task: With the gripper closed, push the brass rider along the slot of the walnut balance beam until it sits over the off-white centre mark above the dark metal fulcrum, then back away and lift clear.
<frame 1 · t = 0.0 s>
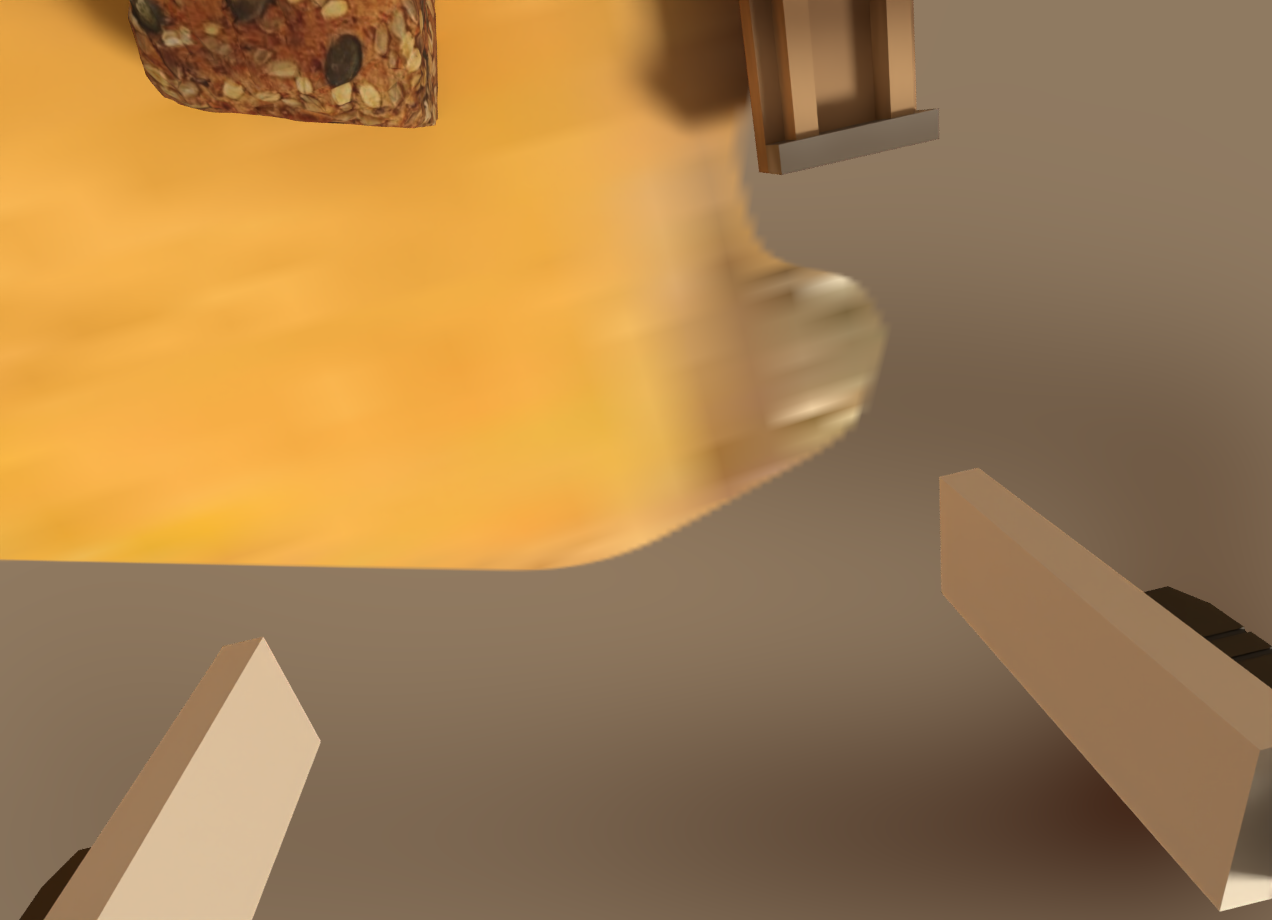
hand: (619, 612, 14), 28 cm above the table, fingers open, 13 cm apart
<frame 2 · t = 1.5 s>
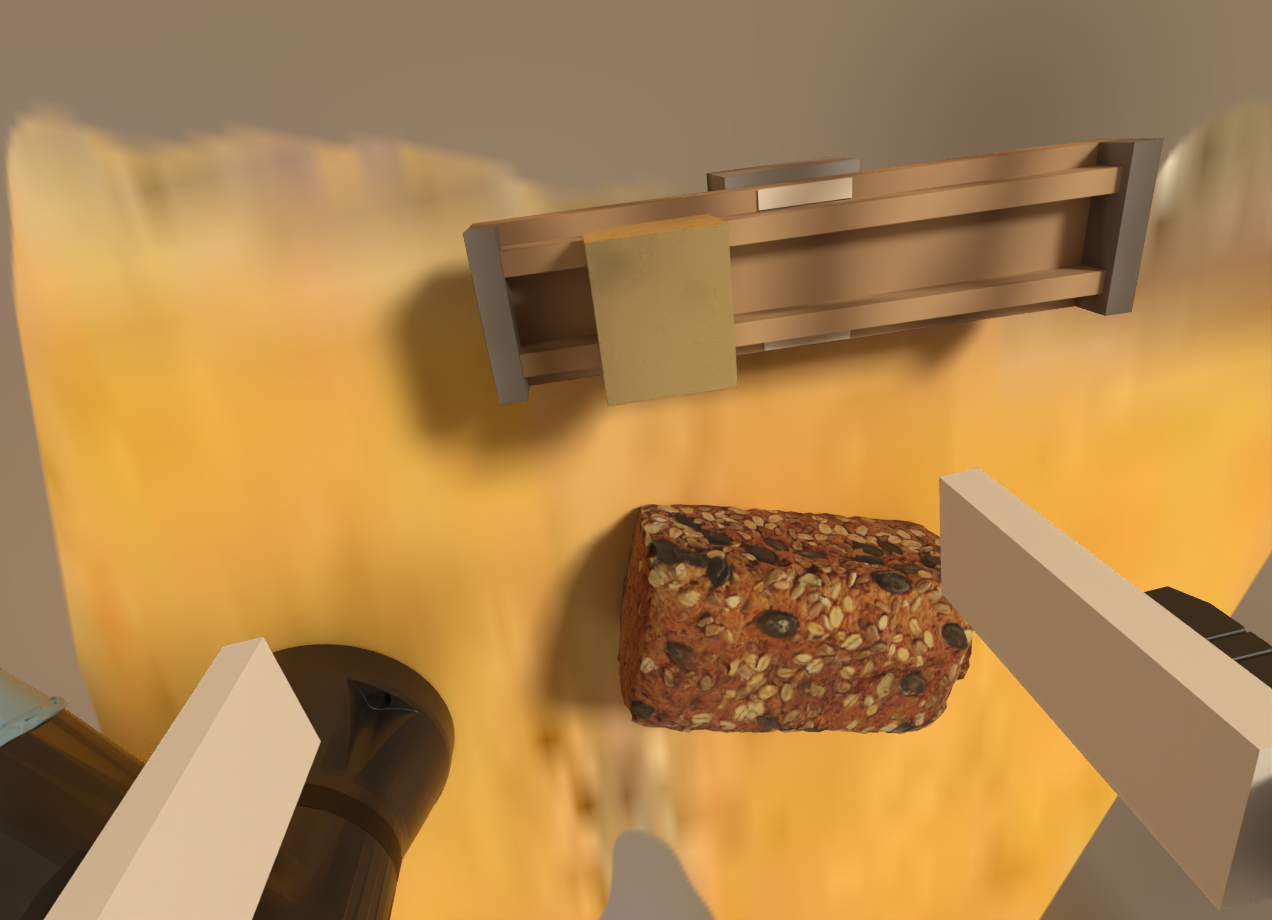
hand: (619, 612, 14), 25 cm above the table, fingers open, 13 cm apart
bread: (766, 571, 44), on the table
beam: (770, 249, 36), on the table
rider: (656, 303, 28), point 8 cm above the table, slide at -7.0 cm
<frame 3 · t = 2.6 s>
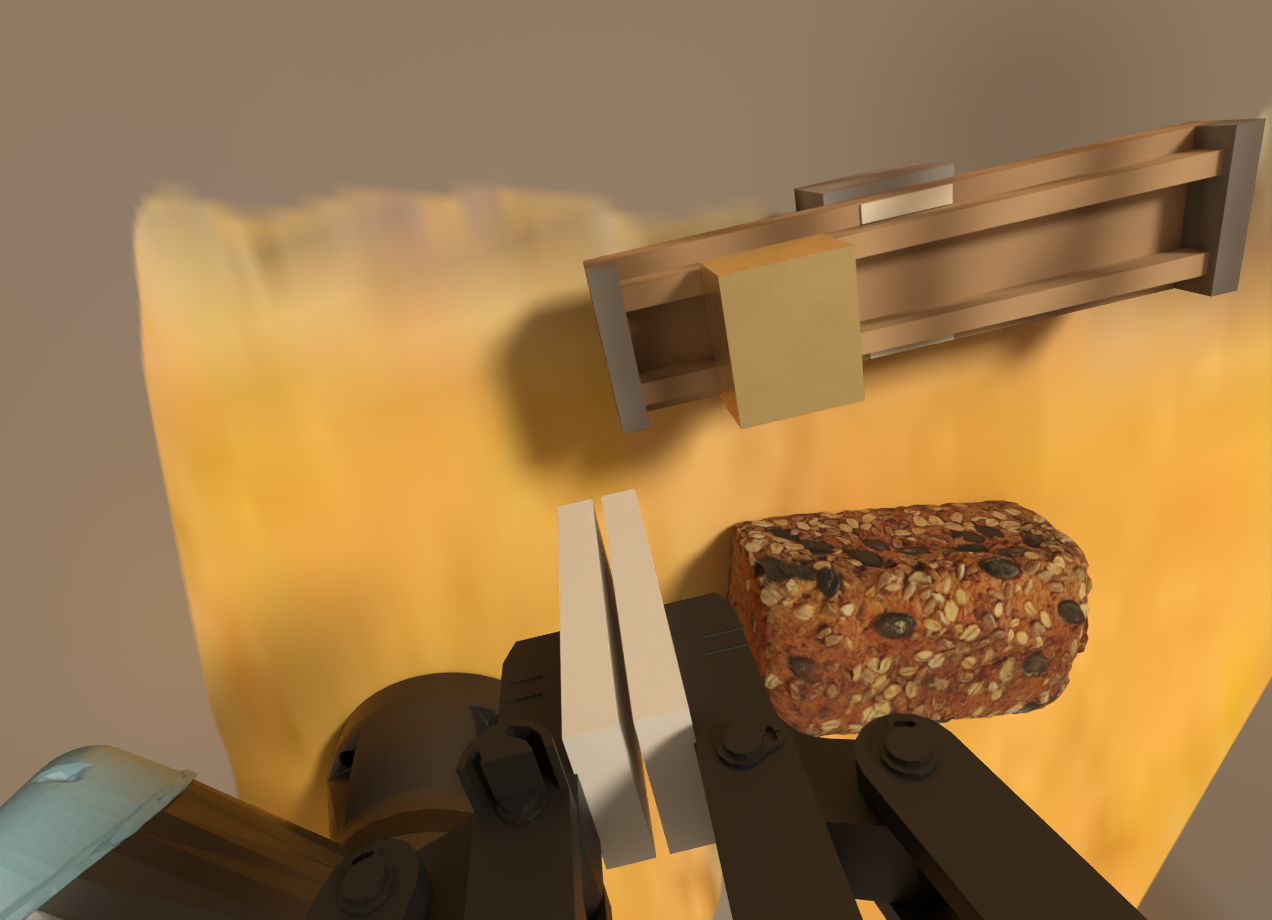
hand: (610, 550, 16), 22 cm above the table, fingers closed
bread: (863, 568, 45), on the table
beam: (858, 256, 36), on the table
rider: (774, 324, 28), point 8 cm above the table, slide at -7.0 cm
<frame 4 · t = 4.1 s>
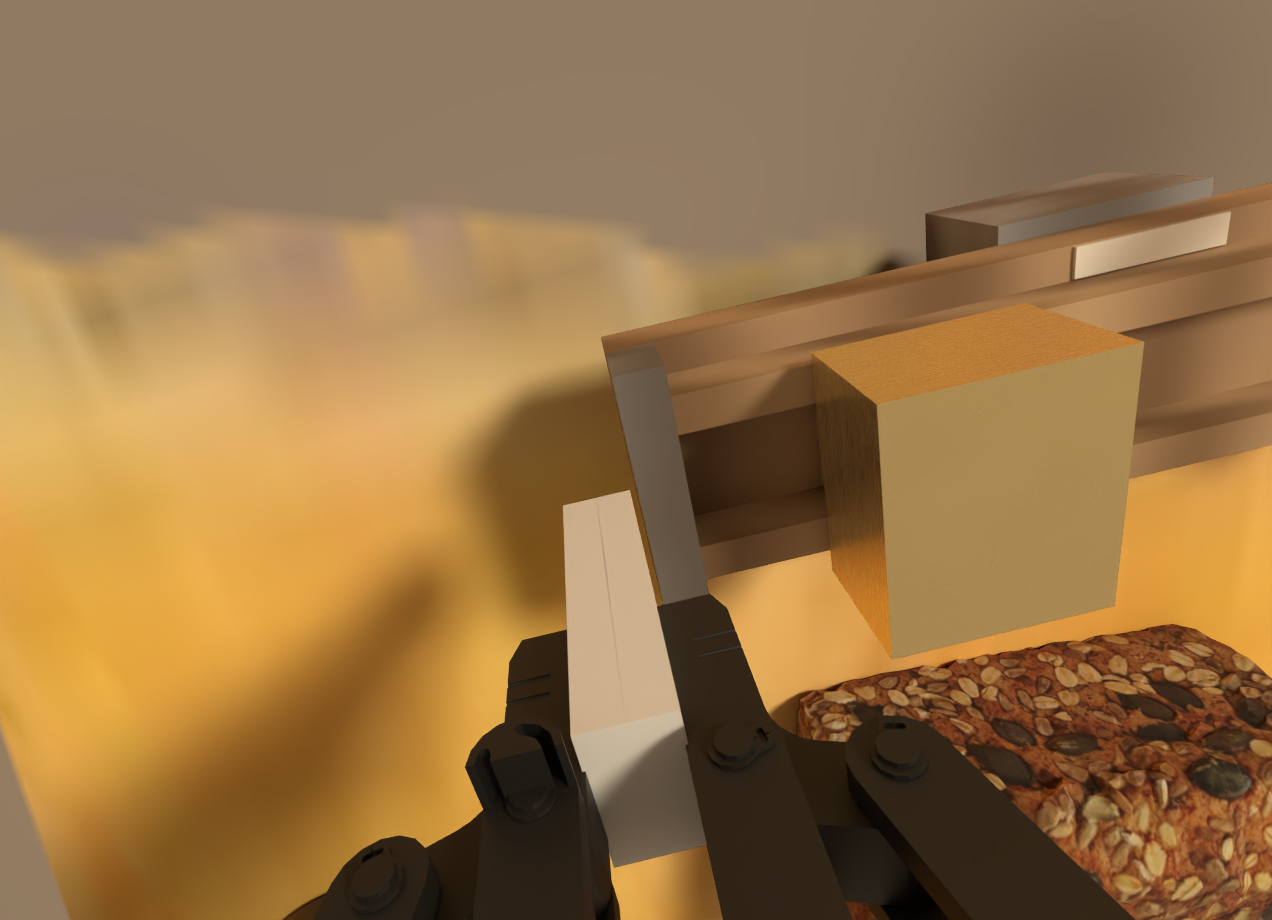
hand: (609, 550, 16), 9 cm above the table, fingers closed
bread: (980, 724, 33), on the table
beam: (1012, 314, 24), on the table
rider: (939, 460, 16), point 8 cm above the table, slide at -7.0 cm
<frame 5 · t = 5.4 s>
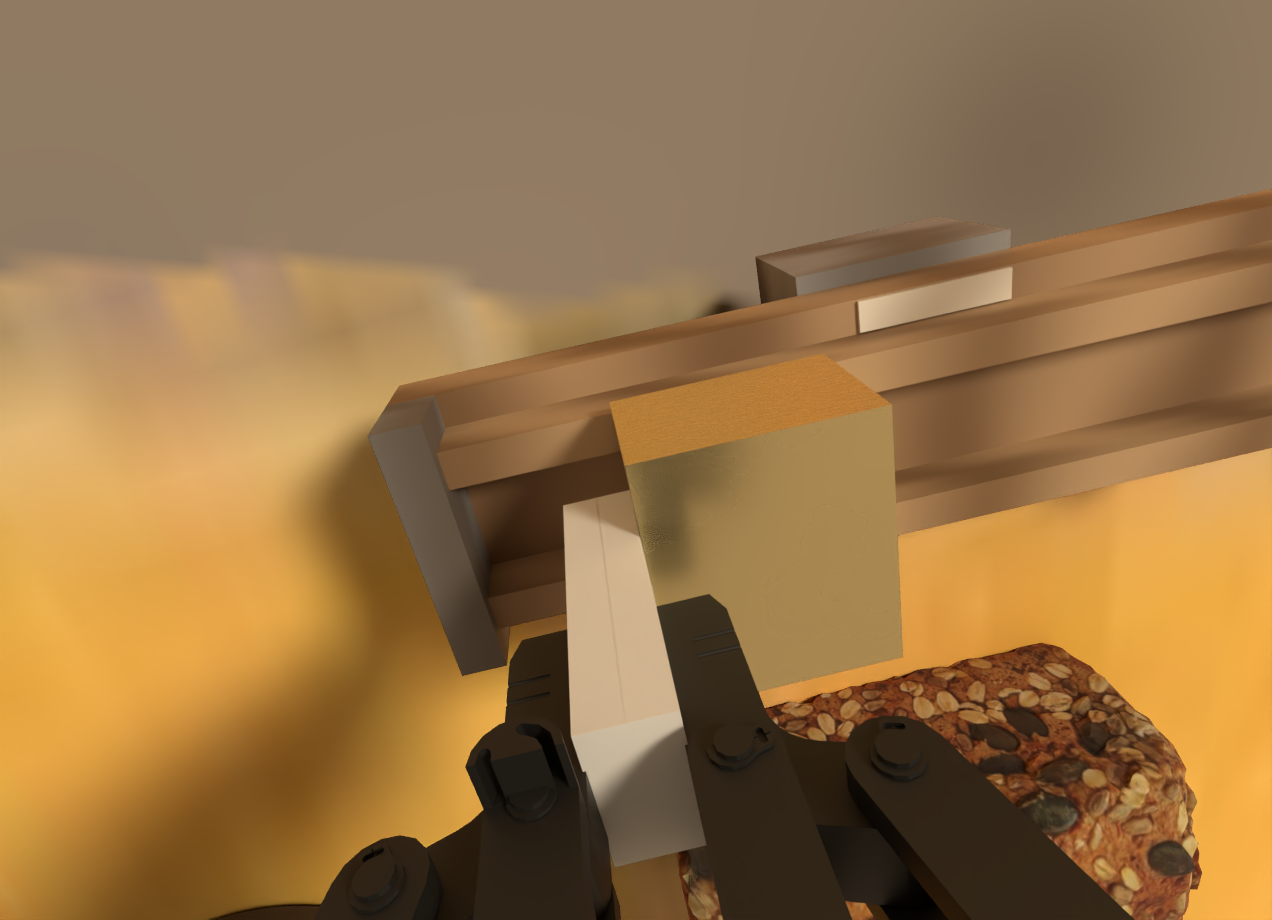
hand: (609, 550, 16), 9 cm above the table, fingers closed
bread: (862, 752, 33), on the table
beam: (853, 354, 24), on the table
rider: (743, 508, 16), point 8 cm above the table, slide at -6.1 cm, touching gripper
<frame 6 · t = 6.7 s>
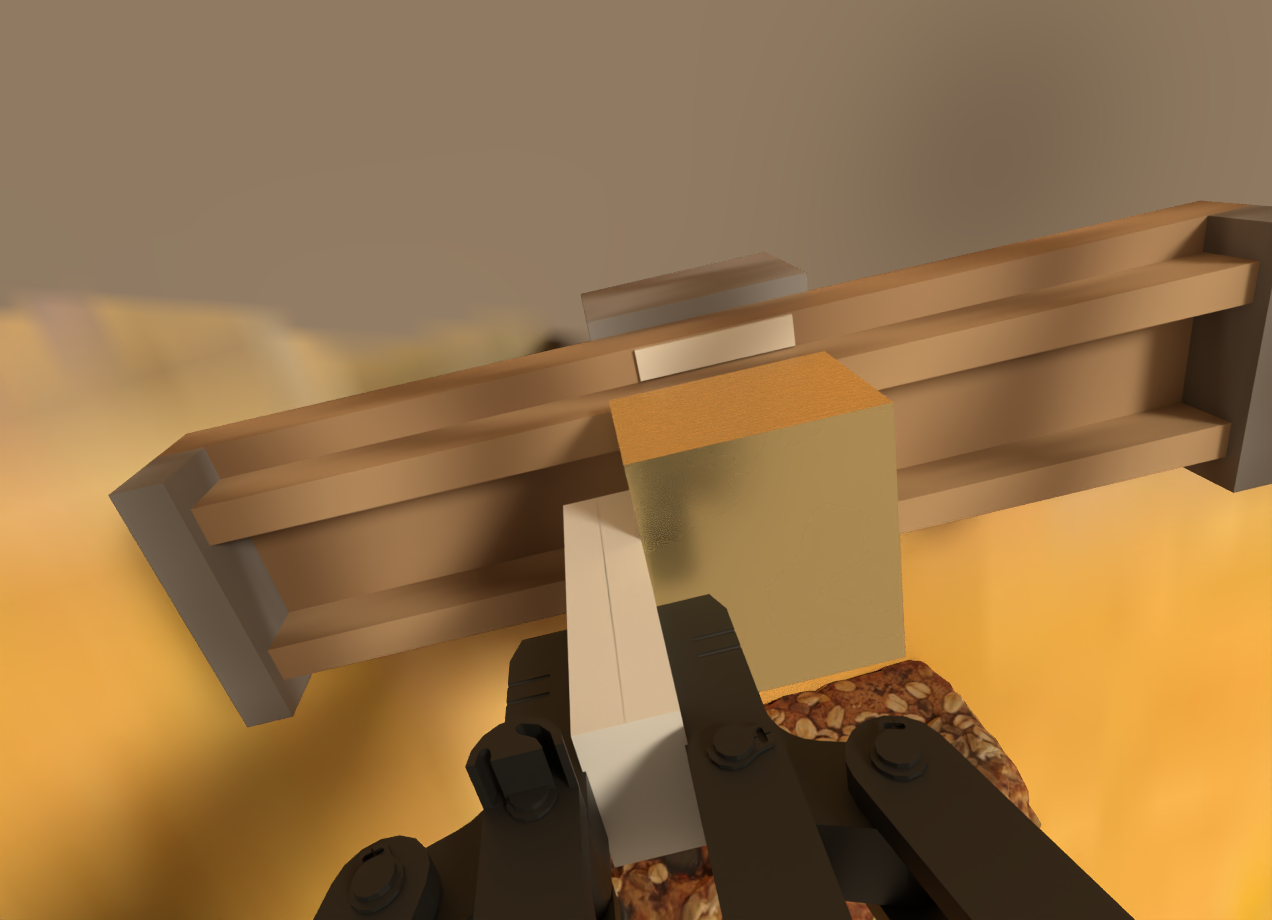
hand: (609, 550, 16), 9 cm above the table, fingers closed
bread: (746, 778, 32), on the table
beam: (693, 389, 24), on the table
rider: (744, 507, 16), point 8 cm above the table, slide at -0.4 cm, touching gripper
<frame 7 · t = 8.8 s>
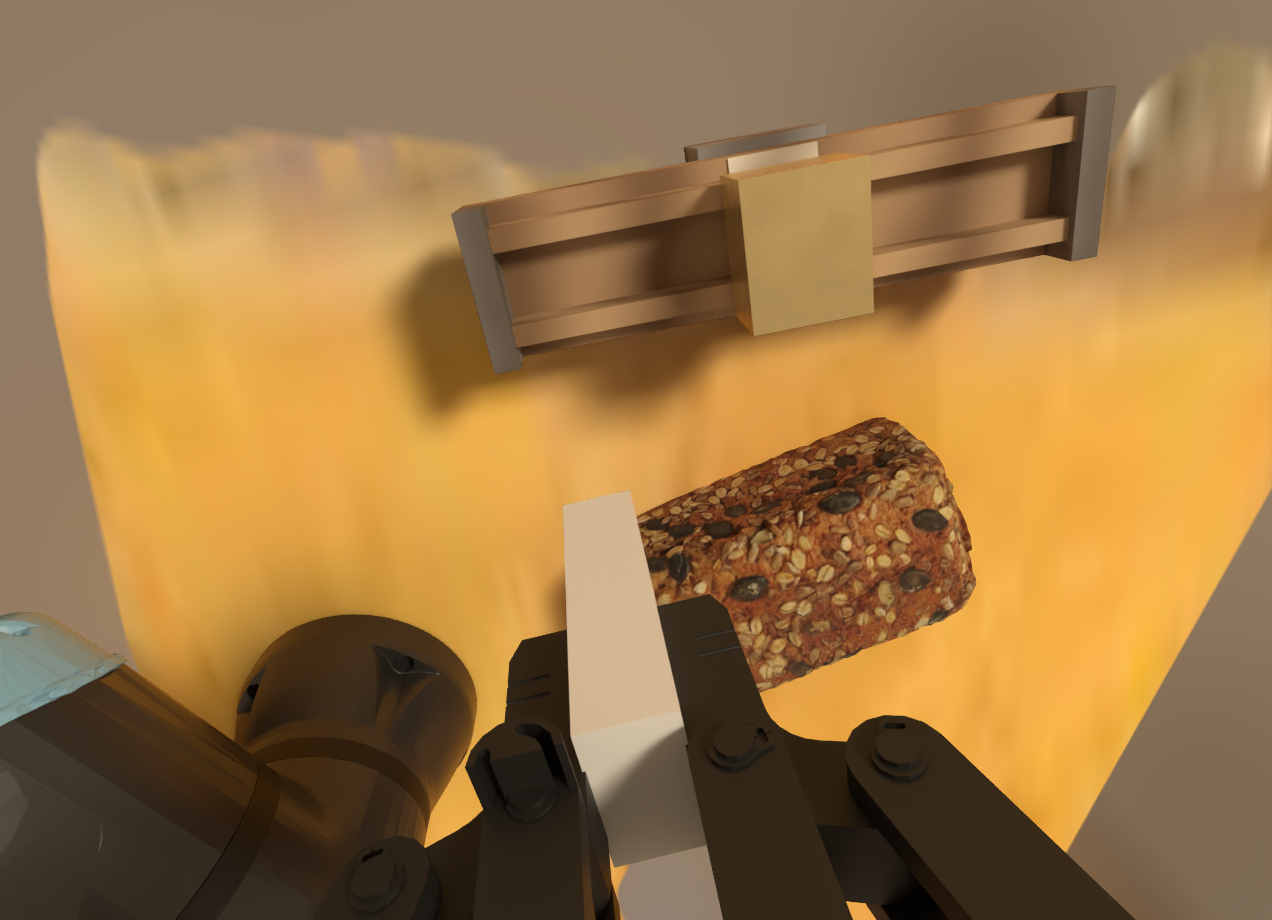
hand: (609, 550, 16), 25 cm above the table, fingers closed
bread: (768, 522, 46), on the table
beam: (749, 217, 37), on the table
rider: (789, 240, 30), point 8 cm above the table, slide at -0.3 cm
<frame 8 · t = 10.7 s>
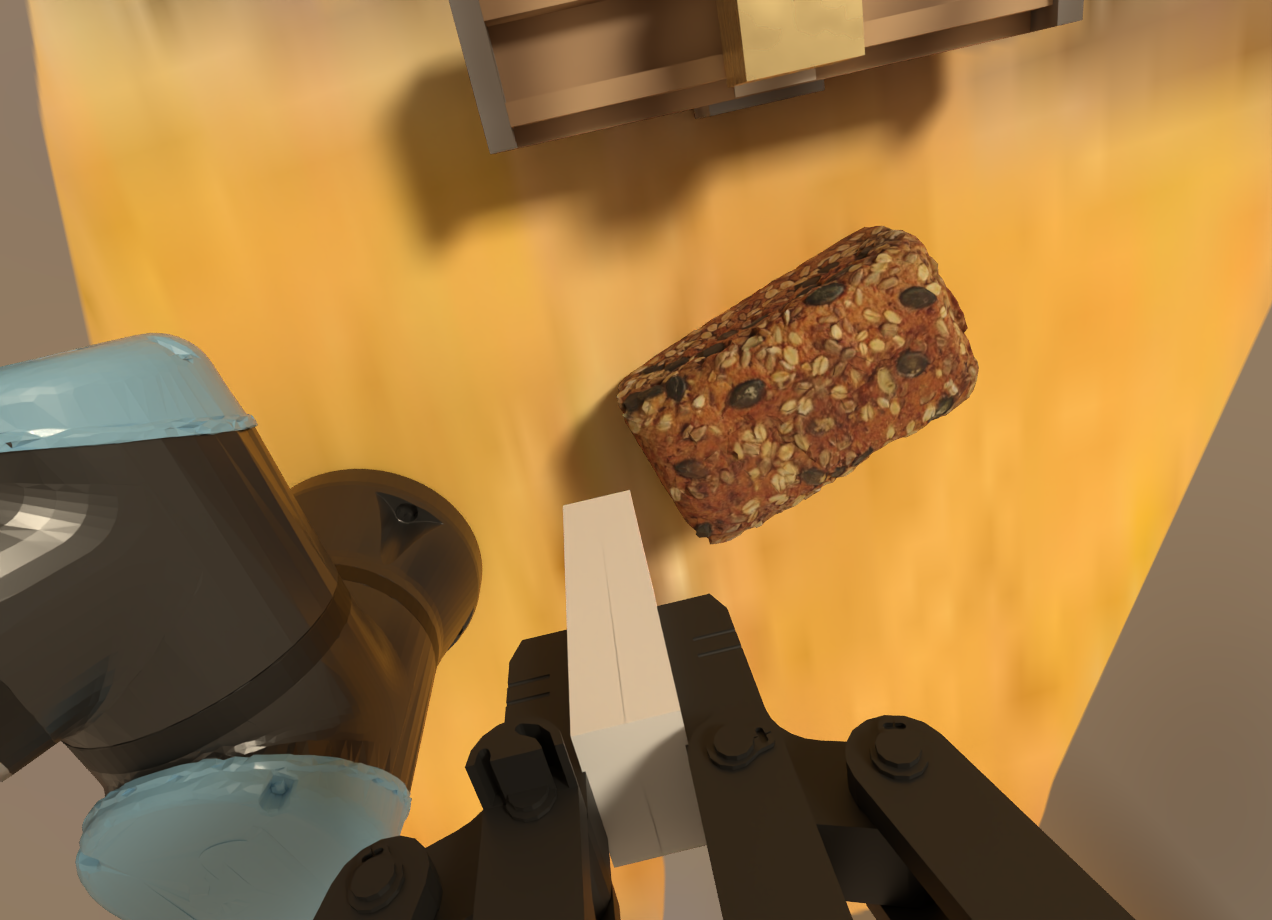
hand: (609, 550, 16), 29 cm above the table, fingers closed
bread: (767, 362, 46), on the table
beam: (737, 25, 37), on the table
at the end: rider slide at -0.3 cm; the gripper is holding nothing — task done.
